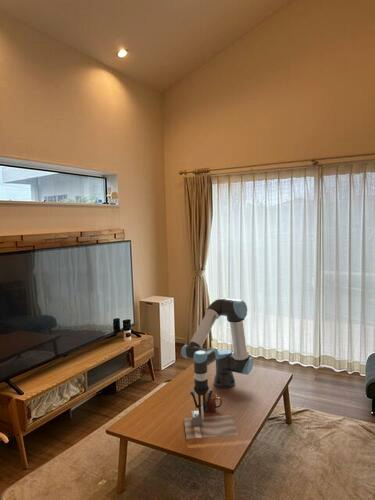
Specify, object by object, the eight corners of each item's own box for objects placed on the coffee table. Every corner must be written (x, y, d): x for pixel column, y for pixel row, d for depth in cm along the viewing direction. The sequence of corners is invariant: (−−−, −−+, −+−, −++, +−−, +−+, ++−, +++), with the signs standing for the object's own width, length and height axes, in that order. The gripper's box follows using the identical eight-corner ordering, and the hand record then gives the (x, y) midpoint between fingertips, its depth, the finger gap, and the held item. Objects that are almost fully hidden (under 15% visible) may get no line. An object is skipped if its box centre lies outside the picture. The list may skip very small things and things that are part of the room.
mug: (201, 414, 222) (200, 397, 221) (205, 407, 230) (204, 391, 229) (220, 417, 218) (220, 400, 217) (224, 409, 226) (223, 393, 225)
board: (183, 417, 218) (183, 415, 218) (230, 414, 220) (230, 412, 220) (186, 441, 196) (186, 438, 195) (238, 436, 198) (238, 434, 198)
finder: (191, 419, 214) (191, 410, 214) (200, 418, 215) (200, 409, 214) (193, 426, 207) (192, 416, 207) (201, 425, 208) (201, 416, 207)
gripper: (190, 382, 205) (191, 423, 207) (213, 380, 206) (214, 421, 208) (189, 376, 212) (190, 415, 214) (211, 375, 213) (212, 414, 215)
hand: (202, 418), depth 211 cm, fingers closed
